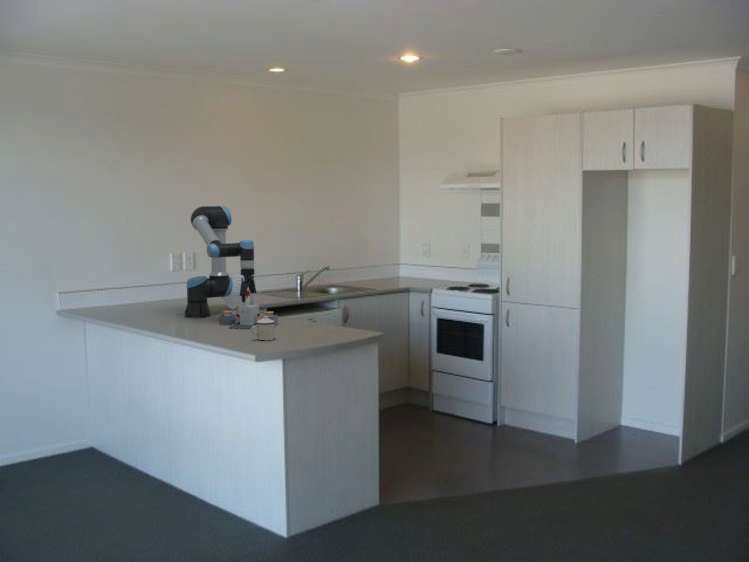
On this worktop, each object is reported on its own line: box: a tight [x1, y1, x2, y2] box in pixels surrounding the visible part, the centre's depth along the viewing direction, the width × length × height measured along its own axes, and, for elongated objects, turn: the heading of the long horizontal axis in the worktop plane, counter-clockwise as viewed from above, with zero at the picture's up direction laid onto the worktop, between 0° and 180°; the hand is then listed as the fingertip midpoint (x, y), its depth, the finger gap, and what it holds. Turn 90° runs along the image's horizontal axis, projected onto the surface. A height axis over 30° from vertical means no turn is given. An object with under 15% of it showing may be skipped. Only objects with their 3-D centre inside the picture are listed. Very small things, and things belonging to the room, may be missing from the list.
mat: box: [228, 324, 255, 330], centre depth 439 cm, size 9×12×1 cm
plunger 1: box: [222, 310, 233, 316], centre depth 451 cm, size 5×5×6 cm
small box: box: [239, 305, 258, 325], centre depth 449 cm, size 8×6×10 cm
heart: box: [221, 272, 250, 310], centre depth 510 cm, size 28×16×22 cm, turn 38°
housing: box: [218, 313, 279, 326], centre depth 449 cm, size 12×31×5 cm, turn 80°
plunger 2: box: [264, 310, 275, 317], centre depth 447 cm, size 5×5×6 cm
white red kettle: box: [235, 290, 261, 318], centre depth 482 cm, size 14×14×15 cm
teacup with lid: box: [250, 315, 276, 341], centre depth 401 cm, size 12×9×12 cm
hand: (248, 306), depth 448 cm, fingers open, 13 cm apart
